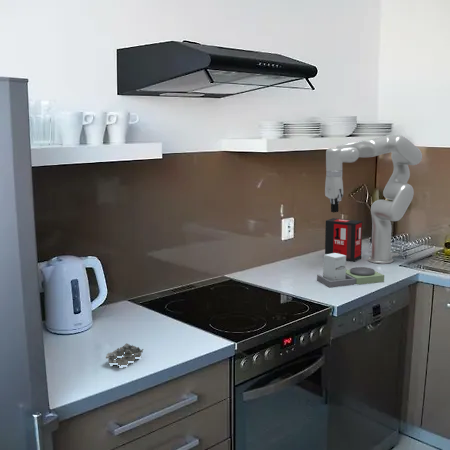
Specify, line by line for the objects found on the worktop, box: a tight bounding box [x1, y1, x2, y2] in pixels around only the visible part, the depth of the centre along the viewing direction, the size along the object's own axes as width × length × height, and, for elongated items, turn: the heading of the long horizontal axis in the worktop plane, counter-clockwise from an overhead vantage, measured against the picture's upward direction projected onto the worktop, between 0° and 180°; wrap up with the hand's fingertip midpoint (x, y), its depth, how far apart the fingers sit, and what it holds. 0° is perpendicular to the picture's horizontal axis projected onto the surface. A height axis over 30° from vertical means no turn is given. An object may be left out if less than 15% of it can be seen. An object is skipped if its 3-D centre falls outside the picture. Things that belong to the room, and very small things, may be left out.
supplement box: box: [322, 253, 347, 281], centre depth 249 cm, size 7×7×13 cm
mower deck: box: [316, 266, 385, 288], centre depth 252 cm, size 27×14×4 cm, turn 108°
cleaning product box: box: [324, 217, 363, 263], centre depth 291 cm, size 16×9×20 cm, turn 53°
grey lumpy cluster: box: [105, 343, 144, 366], centre depth 170 cm, size 11×8×4 cm
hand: (334, 211), depth 268 cm, fingers closed
